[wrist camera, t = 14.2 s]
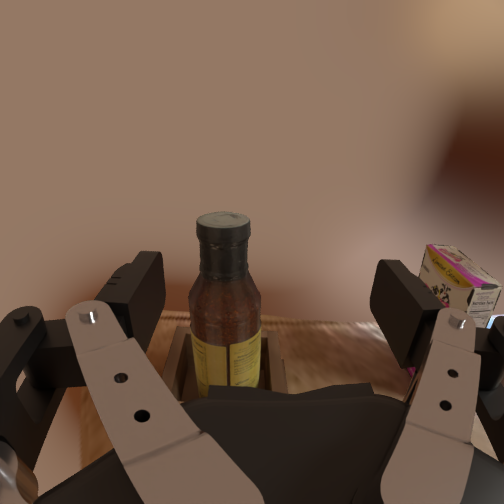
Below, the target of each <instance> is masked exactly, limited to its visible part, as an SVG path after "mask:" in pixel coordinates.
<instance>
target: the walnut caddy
mask: <svg viewBox="0 0 504 504" xmlns="http://www.w3.org/2000/svg"><path fill="white" fill-rule="evenodd" d="M161 379H162V380H163V382H164V383H165V384H166V386H167V387H168V389H169V390H170V392H171V393H172V394H173V396H174V397H175V398H176V400H177V401H178V403H179V404H181V403H183V402H186V401H189V400H193V399H197V398H199V394H198V387H197V379H196V371H195V363H194V355H193V346H192V338H191V329H190V327H179V326H177V327H176V331H175V334H174V337H173V341H172V344H171V347H170V351H169V354H168V357H167V361H166V364H165V368H164V371H163V375H162V378H161ZM259 388H260V389H265V390H270V391H275V392H281V393H286V394H288V389H287V382H286V374H285V367H284V360H283V359H281V354H280V346H279V339H278V331H261V351H260V371H259Z"/></svg>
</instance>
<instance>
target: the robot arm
mask: <svg viewBox="0 0 504 504" xmlns="http://www.w3.org/2000/svg"><path fill="white" fill-rule="evenodd" d="M165 297H166V290H165V280H164V269H163V258H162V254H161V252H156V251H155V252H154V251H140V252H139V254H138V255H137V256H136V258H135V259H134V260H133V262H132V263H131V264H130V263H127V264H125V265H123V266H121V267H120V268H118V269H117V270H116V271H115V272H114V274H113V275H112V276H111V278H110V279H109V280H108V281H107V284H105V285H104V287H103V288H102V289H101V291H100V292H99V293H98V295H97V296H96V298H95V299H94V300H90V301H85V302H81V303H78V304H76V305H74V306H73V307H71V308H70V309H69V310H68V312H67V313H66V317H65V318H66V319H60V320H49V321H44V318H43V315H42V313H41V310H40V309H39V308H37V307H33V306H25V307H20V308H17V309H15V310H13V311H12V312H10V313H9V314H8V315H7V316H6V317H5V318H4V319H3V320H2V322H1V323H0V504H504V316H498V317H496V318H495V319H494V322H493V324H492V326H491V328H490V329H487V328H481V327H476V323H475V321H474V319H473V318H472V317H471V316H470V315H469V314H467V313H466V312H464V311H462V310H459V309H456V308H446V307H445V306H444V305H443V304H442V302H441V301H440V300H439V299H438V298H437V297H436V296H435V294H434V293H432V291H431V290H430V289H429V288H428V287H427V285H426V284H425V283H424V282H423V281H422V280H421V279H420V278H419V277H417V276H415V275H414V274H412V273H411V272H410V271H409V270H408V269H407V268H406V267H405V266H404V264H403V263H402V262H401V261H400V260H383V259H382V260H380V261H379V263H378V265H377V269H376V273H375V278H374V282H373V287H372V291H371V296H370V309H371V312H372V314H373V316H374V318H375V319H376V321H377V323H378V325H379V327H380V329H381V331H382V332H383V334H384V336H385V338H386V340H387V342H388V344H389V346H390V348H391V350H392V352H393V353H394V355H395V357H396V359H397V361H398V363H399V365H400V367H401V369H403V368H411V367H415V372H414V374H413V376H412V378H411V381H410V384H409V386H408V389H407V391H406V394H405V396H404V398H403V401H400V400H398V399H395V398H392V397H388V396H385V395H380V394H374V392H373V389H372V387H371V384H370V383H359V384H346V385H333V386H329V387H325V388H321V389H317V390H313V391H309V392H304V393H300V394H286V393H281V392H275V391H270V390H265V389H260V388H255V387H248V386H221V385H209V389H208V397H202V398H197V399H193V400H189V401H186V402H183V403H181V404H179V403H178V401H177V400H176V398H175V397H174V396H173V394H172V393H171V392H170V390H169V389H168V387H167V386H166V384H165V383H164V382H163V380H162V379H161V377H160V376H159V374H158V373H157V371H156V370H155V369H154V367H153V366H152V364H151V363H150V361H149V360H148V358H147V356H146V355H145V354H146V351H147V348H148V346H149V343H150V341H151V338H152V335H153V333H154V330H155V328H156V325H157V323H158V320H159V318H160V315H161V313H162V310H163V308H164V305H165ZM22 370H23V371H24V373H25V375H26V378H25V379H24V381H23V383H22V385H21V386H20V388H19V390H18V392H17V393H16V381H17V378H18V377H19V375H20V373H21V372H22ZM81 386H87V387H88V389H89V392H90V395H91V397H92V400H93V402H94V404H95V407H96V409H97V412H98V414H99V416H100V419H101V421H102V423H103V425H104V428H105V430H106V432H107V434H108V436H109V438H110V440H111V442H112V445H113V447H114V448H113V449H112V450H110V451H109V452H107V453H106V454H104V455H103V456H102V457H100V458H99V459H97V460H96V461H94V462H93V463H91V464H90V465H88V466H87V467H85V468H83V469H82V470H80V471H79V472H77V473H76V474H74V475H73V476H71V477H70V478H68V479H66V480H65V481H63V482H62V483H60V484H58V485H57V486H55V487H53V488H52V489H50V490H49V491H47V492H45V493H44V494H43V495H41V496H40V497H38V482H37V479H36V476H35V475H34V473H33V470H34V467H35V464H36V462H37V459H38V456H39V453H40V451H41V448H42V446H43V443H44V440H45V438H46V435H47V433H48V430H49V428H50V425H51V423H52V421H53V418H54V416H55V414H56V411H57V409H58V407H59V404H60V402H61V400H62V397H63V395H64V393H65V391H66V388H67V387H81ZM475 411H476V413H477V415H478V417H479V419H480V421H481V423H482V425H483V427H484V429H485V432H486V434H487V436H488V438H489V440H490V442H491V444H492V447H493V449H494V451H495V453H496V456H497V458H498V460H499V461H497V460H496V459H494V458H492V457H491V456H489V455H487V454H486V453H484V452H482V451H481V450H479V449H478V448H476V447H474V446H473V444H472V443H471V441H470V439H471V433H472V428H473V422H474V416H475Z"/></svg>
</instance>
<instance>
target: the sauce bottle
mask: <svg viewBox="0 0 504 504" xmlns="http://www.w3.org/2000/svg"><path fill="white" fill-rule="evenodd" d="M196 222H197V223H196V224H197V228H196V229H197V230H196V233H197V237H198V239H199V242H200V259H201V262H200V274H199V276H198V277H197V279H196V281H195V283H194V285H193V286H192V288H191V290H190V292H189V296H188V299H189V308H190V319H191V324H190V329H191V338H192V346H193V355H194V363H195V371H196V379H197V387H198V394H199V398H202V397H208V389H209V385H221V386H248V387H255V388H259V371H260V351H261V319H260V308H261V295H260V292H259V291H258V290H257V288H256V285H255V283H254V281H253V279H252V277H251V275H250V273H249V271H248V263H247V248H248V239H249V237H250V234H251V232H250V230H251V229H250V219H249V218H248V217H247V216H245V215H242V214H239V213H232V212H214V213H209V214H205V215H202V216H200V217H199V218H198V219H197V221H196Z"/></svg>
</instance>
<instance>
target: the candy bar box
mask: <svg viewBox="0 0 504 504" xmlns="http://www.w3.org/2000/svg"><path fill="white" fill-rule="evenodd" d="M419 278H420V279H421V280H422V281H423V282H424V283H425V284H426V285H427V287H428V288H429V289H430V290H431V291H432V293H434V294H435V296H436V297H437V298H438V299H439V300H440V301H441V302H442V304H443V305H444V306H445V307H446V308H456V309H459V310H462V311H464V312H466V313H467V314H469V315H470V316H471V317H472V318H473V319H474V321H475V323H476V327H481V328H486V327H487V325H488V322H489V320H490V318H491V315H492V313H493V311H494V308H495V305H496V302H497V300H498V297H499V295H500V292H501V289H502V285H501V284H500V283H499V282H498V281H496V280H495V279H494V278H493V277H492V276H490V275H489V274H488V273H487V272H485V271H484V270H483V269H482V268H481V267H479V266H478V265H477V264H476V263H474V262H473V261H472V260H471V259H469V258H468V257H467V256H466V255H464V254H463V253H462V252H460V251H459V250H458V249H457V248H455V247H454V246H444V245H435V244H430V245H426V250H425V253H424V257H423V261H422V265H421V269H420V273H419ZM407 370H408V372H409V373H410V375H411V377H412V376H413V374H414V372H415V367H411V368H407Z"/></svg>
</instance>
